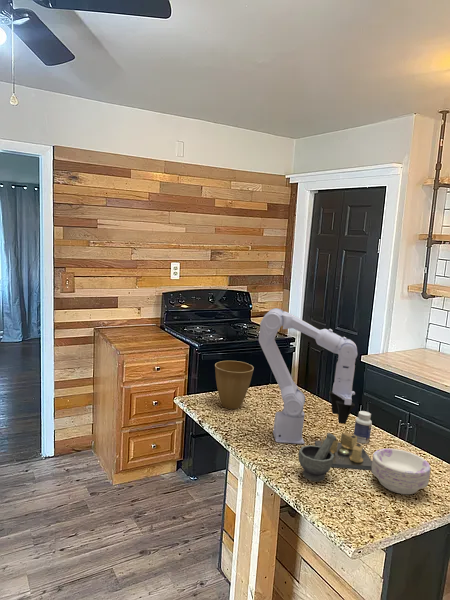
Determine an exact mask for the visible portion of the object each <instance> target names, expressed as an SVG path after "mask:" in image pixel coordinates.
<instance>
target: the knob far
mask: <svg viewBox="0 0 450 600" xmlns="http://www.w3.org/2000/svg"><path fill="white" fill-rule="evenodd" d="M339 443H341V444H342V447H343V448H344V449H347V450H353V447H354V445H355V444H358V442H357V437H356V436H354V434H352V433H350V432H348V431H343V432H341V436H340V442H339Z"/></svg>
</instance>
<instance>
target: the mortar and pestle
mask: <svg viewBox="0 0 450 600" xmlns="http://www.w3.org/2000/svg"><path fill="white" fill-rule="evenodd" d="M336 439H337V437H336V436H335V435H334V434H332V433H330V432H327V434H326V439H325V440H324V442H323V444H322V445H321V447H320V446H315V445H314V444H313V445H312V444H308V445H305V446H301V447H300V449H299V450H298V462H299V465H300V466H301V468H302V469H303V470H302V476H303V477H304V478H305V479H307V480H308V481H312V482H318V483H319V482H322V481H324V480H325V478H326V476H325V475H326V474H328V473H329V471H331V470H330V469H331V468H332V467H331V466H332V463H333V460H334V455H333V453H332V452H331V451H330V448H331V446H332V444H333V442H334V440H336Z"/></svg>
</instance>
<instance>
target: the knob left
mask: <svg viewBox="0 0 450 600" xmlns="http://www.w3.org/2000/svg"><path fill="white" fill-rule="evenodd" d="M326 437H327V436H326ZM326 437H325V436H322V437H321V441H322V442H321V445H322V444H323V442H324V440H325V439H326ZM338 443H339V441H338V439H337V438H336V440H334V442H333V444H332V446H331V448H330V451H331V452H332V453H333V454H335V452H337V445H338Z"/></svg>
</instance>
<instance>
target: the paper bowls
mask: <svg viewBox="0 0 450 600" xmlns="http://www.w3.org/2000/svg"><path fill="white" fill-rule="evenodd" d="M371 460H372V467H371V470H370V471H371V474H372V475H373V476H374V477H376V478H377V479H378V482H379V483H380V485H382V486H383V487H384V488H385V489H387V490H389V491H390V492H393V493H397V494H401V495H412V494H416V493H417V492H418V491H419V490H420V489H421V490H422V489H424V488H426V487H428V485H429V483H430V481H429V480H430V474H431V465H430V463H429V462H428V461H427V460H426V459H425V458H423V457H421V456H419V455H418V454H415V453H414V452H413V453H412V452H411V451H406V450H403V449H399V448H389V447H388V448H379V449H377V450H376V451H374V452H373V454H372V459H371Z"/></svg>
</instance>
